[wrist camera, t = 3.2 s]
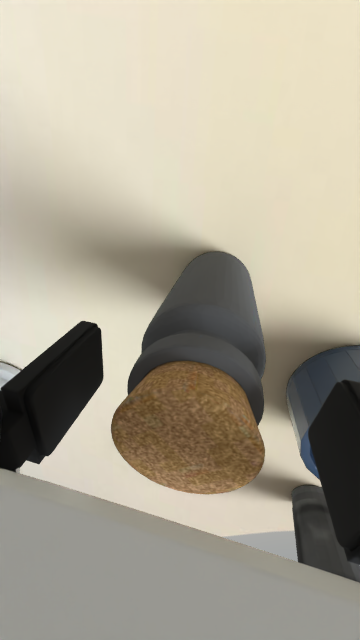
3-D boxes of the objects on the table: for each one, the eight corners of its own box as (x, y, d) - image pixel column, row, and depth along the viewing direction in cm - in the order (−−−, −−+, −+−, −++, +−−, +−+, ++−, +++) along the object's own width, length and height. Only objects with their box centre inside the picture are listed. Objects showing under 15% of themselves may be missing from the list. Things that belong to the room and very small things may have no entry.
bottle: (243, 241, 18) (267, 358, 5) (257, 309, 21) (299, 510, 7) (172, 262, 20) (58, 387, 7) (192, 322, 22) (134, 502, 9)
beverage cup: (301, 470, 29) (407, 901, 11) (357, 494, 29) (551, 963, 11) (269, 497, 32) (310, 854, 15) (319, 518, 32) (419, 901, 15)
